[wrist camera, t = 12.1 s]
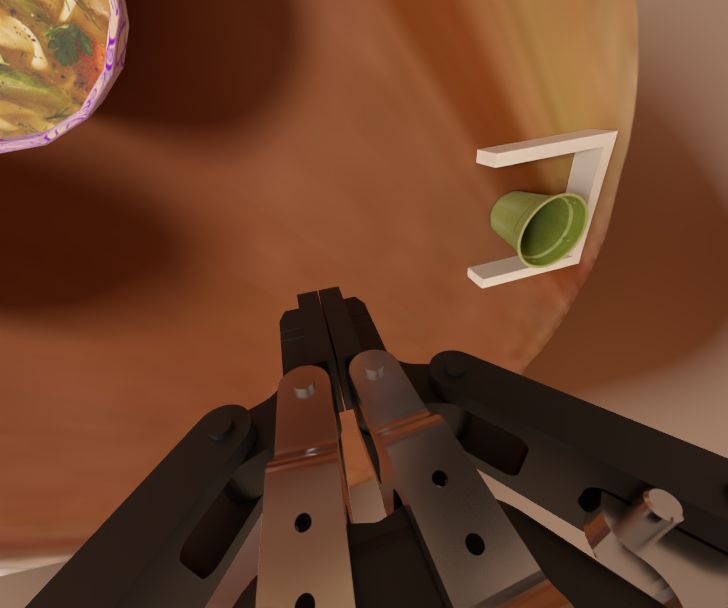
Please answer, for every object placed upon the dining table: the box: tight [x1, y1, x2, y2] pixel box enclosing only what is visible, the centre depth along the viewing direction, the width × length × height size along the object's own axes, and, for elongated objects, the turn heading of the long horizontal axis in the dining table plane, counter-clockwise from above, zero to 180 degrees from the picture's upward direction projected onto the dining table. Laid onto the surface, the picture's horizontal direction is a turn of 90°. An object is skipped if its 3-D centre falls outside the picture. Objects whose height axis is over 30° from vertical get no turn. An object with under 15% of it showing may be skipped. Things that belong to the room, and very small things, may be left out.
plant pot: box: [490, 191, 588, 268], centre depth 41 cm, size 9×9×9 cm
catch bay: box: [468, 129, 618, 288], centre depth 43 cm, size 18×16×4 cm
